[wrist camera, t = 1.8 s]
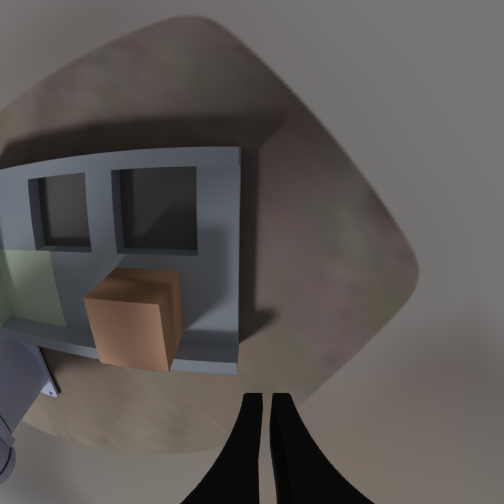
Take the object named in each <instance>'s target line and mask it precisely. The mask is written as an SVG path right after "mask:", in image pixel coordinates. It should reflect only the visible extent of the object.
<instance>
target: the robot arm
mask: <svg viewBox="0 0 504 504" xmlns="http://www.w3.org/2000/svg"><path fill="white" fill-rule="evenodd" d="M40 392H42V393H45V394H48V395H51V396H54V397H58V395H59V393H58V391H57V389H56V387H55V385H54V382H53V380H52V378H51V376H50V373H49V371H48V369H47V366H46V364H45V361H44V359H43V356H42V354H41V351H40V349H39V346H36V345H33V344H29V343H25V342H22V341H18V340H15V339H12V338H8V337H5V336H2V335H0V485H1V484H3V483H4V482H5V481H6V480H7V479H8V478H9V476H10V475H11V474H12V472H13V469H14V467H15V462H16V459H15V457H16V455H15V450H14V448H13V446H12V445H13V443H14V442H15V439H14V437H13V436H12V435H11V434H12V433H13V431H14V430H15V428H16V427H17V425H18V424H19V422H20V421H21V419H22V418H23V416H24V415H25V413H26V412H27V411H28V409H29V408H30V406H31V405H32V403H33V402H34V401H35V399H36V398H37V396H38V395H39V393H40ZM262 413H263V400H262V393H245V394H244V395H243V401H242V406H241V409H240V412H239V415H238V418H237V421H236V423H235V425H234V428H233V430H232V432H231V434H230V436H229V438H228V440H227V442H226V444H225V446H224V448H223V450H222V451H221V453H220V455H219V456H218V458H217V459H216V461H215V463H214V464H213V466H212V467H211V468H210V470H209V471H208V473H207V474H206V475H205V476H204V478H203V479H202V480H201V482H200V483H199V484H198V485H197V486H196V488H195V489H194V490H193V491H192V492H191V493H190V494H189V495H188V496H187V497H186V498H185V500H183V502H182V503H180V504H259V473H258V457H259V448H260V436H261V425H262ZM270 450H271V458H272V465H273V472H274V479H275V486H276V496H277V504H374V503H373V502H372V501H370V500H369V499H367V497H365V496H364V495H363V494H361V493H360V492H359V491H358V490H357V489H356V488H355V487H353V486H352V485H351V484H350V483H349V482H348V481H347V480H346V479H345V478H344V477H343V476H342V475H341V474H340V473H339V472H338V471H337V470H336V469H335V468H334V466H333V465H332V464H331V463H330V462H329V461H328V459H327V458H326V457H325V455H324V454H323V453H322V451H321V450H320V449H319V447H318V446H317V444H316V443H315V441H314V440H313V438H312V437H311V435H310V434H309V432H308V430H307V429H306V427H305V425H304V423H303V421H302V420H301V418H300V416H299V414H298V412H297V409H296V407H295V405H294V402H293V400H292V397H291V395H290V394H289V393H273V396H272V406H271V415H270Z"/></svg>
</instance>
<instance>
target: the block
mask: <svg viewBox="0 0 504 504" xmlns="http://www.w3.org/2000/svg"><path fill="white" fill-rule="evenodd" d="M84 302H85V306H86V310H87V315H88V319H89V323H90V327H91V330H92V334H93V338H94V341H95V345H96V348H97V352H98V355H99V358H100V362H101V363H106V364H111V365H117V366H124V367H130V368H137V369H144V370H152V371H160V372H169V371H170V369H171V366H172V363H173V360H174V357H175V354H176V352H177V349H178V346H179V343H180V340H181V338H182V335H183V332H184V325H183V315H182V304H181V291H180V278H179V271H174V270H151V269H129V268H115V269H114V270H113V271H111V272H110V273H109V274H108V275H107V276H106V277H105V278H104V279H103V280H102V281H101V282H100V283H99V284H98V285H97V286H95V287H94V288H93V289H92V290H91V291H90V292H89V293H88V294H87V295H86V296H85V297H84Z"/></svg>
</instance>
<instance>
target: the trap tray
mask: <svg viewBox="0 0 504 504" xmlns="http://www.w3.org/2000/svg"><path fill="white" fill-rule="evenodd" d="M241 159H242V148H240V147H176V148H156V149H140V150H128V151H117V152H106V153H97V154H89V155H81V156H73V157H66V158H60V159H53V160H47V161H41V162H36V163H30V164H25V165H20V166H15V167H10V168H6V169H1V170H0V335H2V336H5V337H8V338H12V339H15V340H18V341H22V342H25V343H29V344H33V345H36V346H40V347H44V348H48V349H52V350H57V351H61V352H65V353H70V354H74V355H79V356H84V357H89V358H94V359H100V358H99V355H98V352H97V348H96V345H95V341H94V338H93V334H92V330H91V327H90V323H89V319H88V315H87V310H86V306H85V302H84V297H85V296H86V295H87V294H88V293H89V292H90V291H91V290H92V289H93V288H94V287H95V286H97V285H98V284H99V283H100V282H101V281H102V280H103V279H104V278H105V277H106V276H107V275H108V274H109V273H110V272H111V271H113V270H114V269H115V268H129V269H151V270H174V271H179V278H180V291H181V304H182V315H183V325H184V332H183V335H182V338H181V340H180V343H179V346H178V349H177V352H176V354H175V357H174V360H173V363H172V366H171V369H170V370H180V371H192V372H205V373H221V374H237V363H238V350H239V273H240V207H241Z"/></svg>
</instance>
